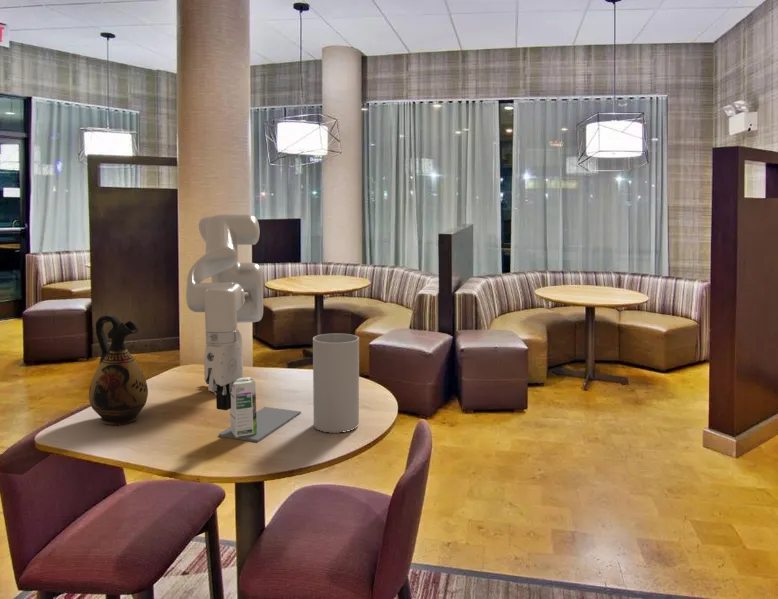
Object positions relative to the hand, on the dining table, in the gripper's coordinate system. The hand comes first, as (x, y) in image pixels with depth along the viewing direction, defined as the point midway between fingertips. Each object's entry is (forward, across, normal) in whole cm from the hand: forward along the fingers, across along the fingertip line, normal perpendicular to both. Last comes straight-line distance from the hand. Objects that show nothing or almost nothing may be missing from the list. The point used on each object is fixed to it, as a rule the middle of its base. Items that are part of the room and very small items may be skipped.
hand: (223, 408), depth 158 cm
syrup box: (+10, +9, 0) cm, 13 cm away
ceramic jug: (+10, +7, +40) cm, 42 cm away
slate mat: (+10, +18, 0) cm, 21 cm away
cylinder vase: (+10, +24, -20) cm, 33 cm away
